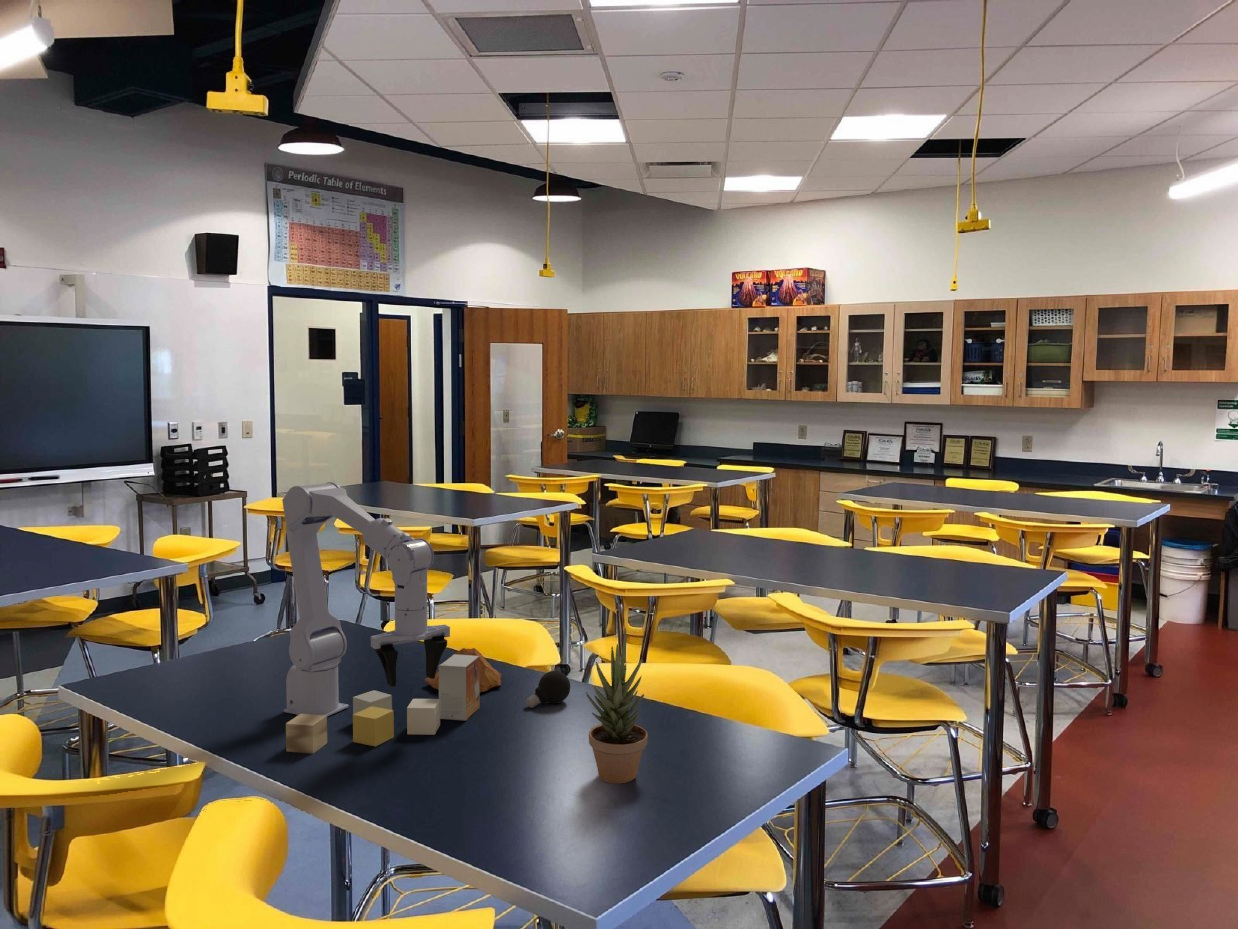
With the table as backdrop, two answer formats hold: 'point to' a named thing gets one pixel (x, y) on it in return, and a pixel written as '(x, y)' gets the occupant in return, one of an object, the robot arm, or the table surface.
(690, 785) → the table surface
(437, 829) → the table surface
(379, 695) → the grey cube
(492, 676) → the stone
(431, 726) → the white cube
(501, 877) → the table surface
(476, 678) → the small box
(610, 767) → the potted plant
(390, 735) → the mustard cube
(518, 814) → the table surface
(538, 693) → the light bulb
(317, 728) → the maple cube
